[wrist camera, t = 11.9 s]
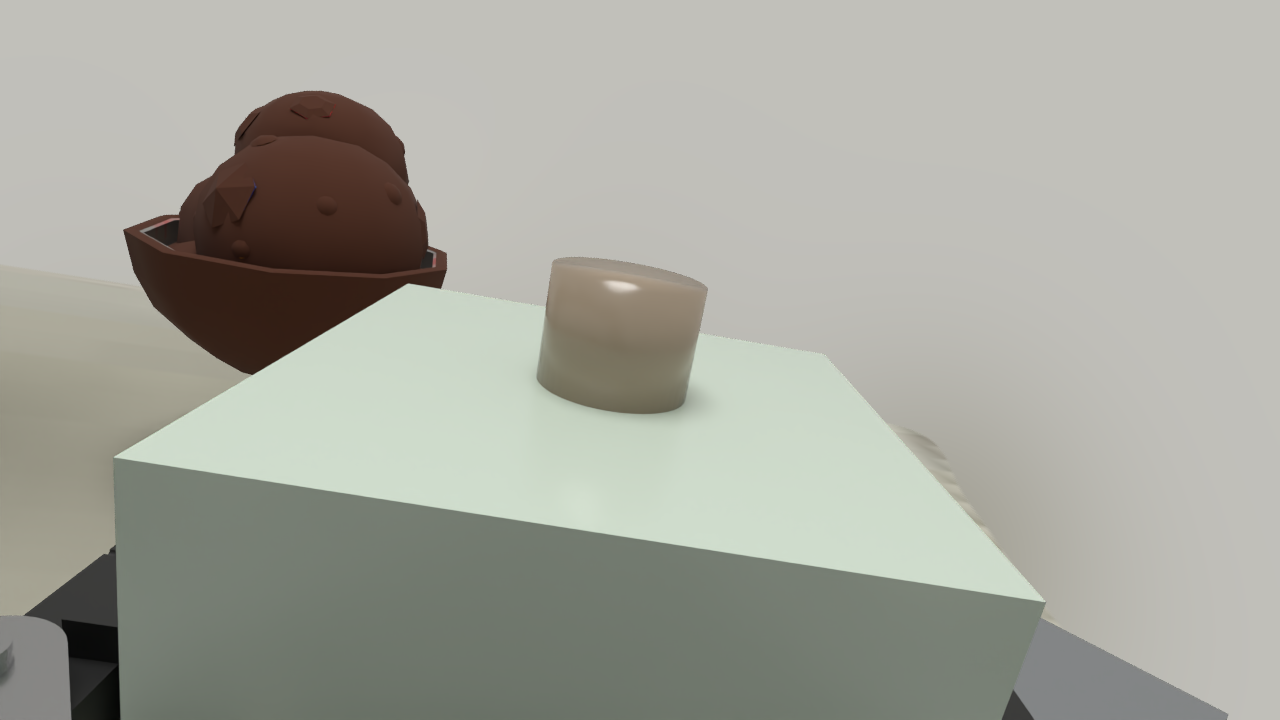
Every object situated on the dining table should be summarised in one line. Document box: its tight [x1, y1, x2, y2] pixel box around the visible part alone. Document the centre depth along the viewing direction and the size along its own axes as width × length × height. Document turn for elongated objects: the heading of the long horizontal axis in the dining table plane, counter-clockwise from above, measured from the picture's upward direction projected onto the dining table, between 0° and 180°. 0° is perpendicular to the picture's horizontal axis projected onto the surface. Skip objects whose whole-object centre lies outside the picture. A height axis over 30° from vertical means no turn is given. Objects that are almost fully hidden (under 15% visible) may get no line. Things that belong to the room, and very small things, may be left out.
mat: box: [1013, 618, 1228, 720], centre depth 26 cm, size 18×12×1 cm, turn 45°
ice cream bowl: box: [123, 91, 447, 375], centre depth 28 cm, size 11×11×15 cm
